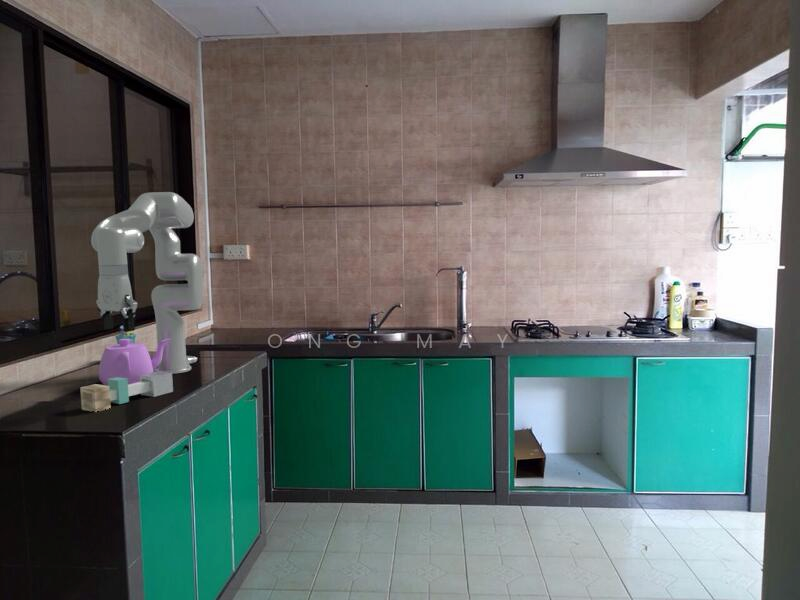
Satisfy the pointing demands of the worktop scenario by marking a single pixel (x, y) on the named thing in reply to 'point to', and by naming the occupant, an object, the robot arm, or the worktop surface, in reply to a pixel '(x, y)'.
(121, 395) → the plug
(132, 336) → the potted flower
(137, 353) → the teapot
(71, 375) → the worktop surface
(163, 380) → the sleeve
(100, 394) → the socket
